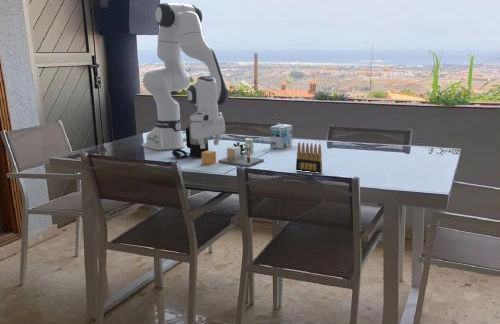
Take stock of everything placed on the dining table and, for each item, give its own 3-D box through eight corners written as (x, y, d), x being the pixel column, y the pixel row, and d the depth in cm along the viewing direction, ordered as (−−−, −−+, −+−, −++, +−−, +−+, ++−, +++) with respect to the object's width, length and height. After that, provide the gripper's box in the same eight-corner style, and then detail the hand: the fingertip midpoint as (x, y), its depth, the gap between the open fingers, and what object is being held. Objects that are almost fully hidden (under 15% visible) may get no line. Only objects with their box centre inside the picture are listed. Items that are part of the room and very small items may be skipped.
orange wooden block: (201, 163, 206) (201, 152, 204) (208, 161, 209) (207, 150, 208) (209, 164, 203) (209, 153, 202) (215, 162, 207) (215, 151, 206)
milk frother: (213, 155, 222) (212, 123, 218) (192, 162, 209) (191, 129, 205) (189, 151, 229) (188, 121, 225) (168, 158, 216) (166, 126, 212)
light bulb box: (280, 149, 233) (281, 127, 230) (269, 147, 237) (269, 126, 234) (292, 145, 241) (292, 124, 239) (281, 144, 245) (281, 123, 243)
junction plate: (218, 162, 207) (218, 149, 206) (234, 157, 217) (233, 144, 215) (248, 167, 199) (248, 153, 197) (263, 161, 208) (263, 148, 207)
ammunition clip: (322, 173, 188) (322, 143, 186) (320, 174, 187) (321, 144, 184) (297, 169, 194) (297, 141, 191) (295, 170, 192) (296, 142, 189)
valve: (245, 150, 231) (232, 155, 221) (245, 137, 229) (231, 141, 219) (257, 152, 227) (243, 157, 217) (257, 138, 226) (243, 143, 216)
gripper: (216, 111, 211) (218, 142, 214) (187, 117, 194) (189, 150, 197) (228, 112, 208) (229, 143, 211) (199, 118, 191) (200, 151, 194)
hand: (209, 146), depth 204 cm, fingers open, 8 cm apart
